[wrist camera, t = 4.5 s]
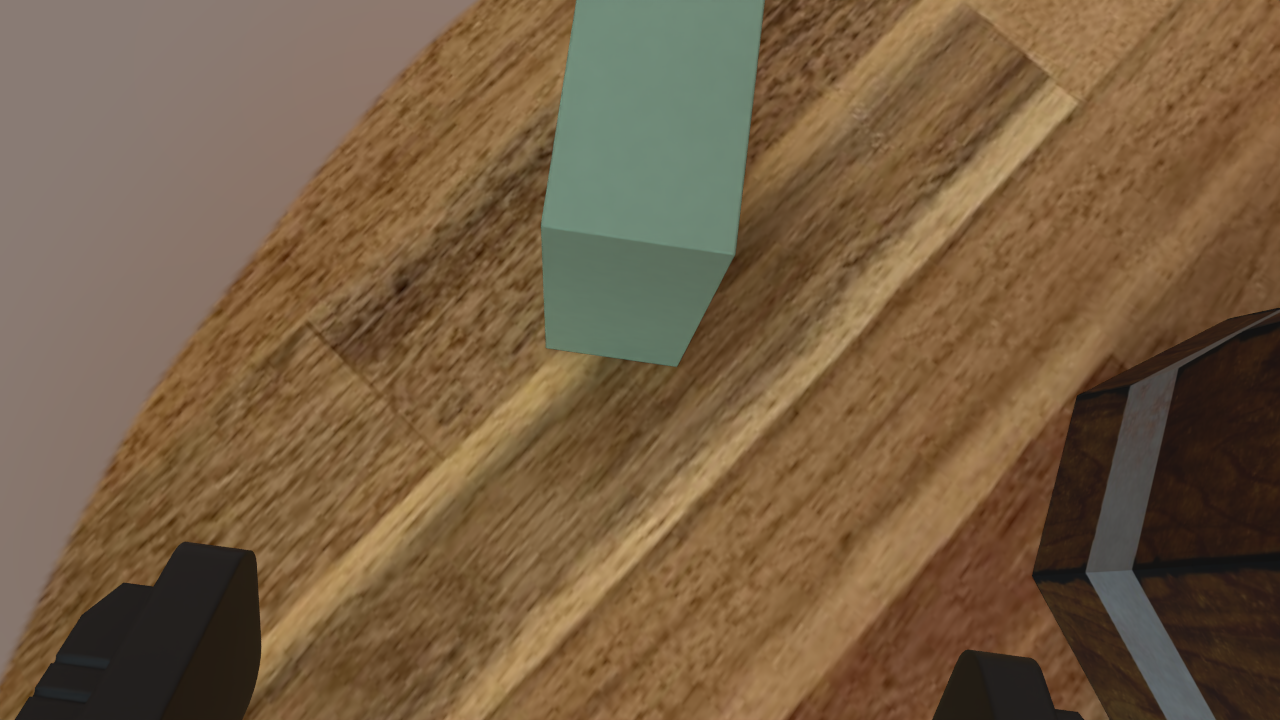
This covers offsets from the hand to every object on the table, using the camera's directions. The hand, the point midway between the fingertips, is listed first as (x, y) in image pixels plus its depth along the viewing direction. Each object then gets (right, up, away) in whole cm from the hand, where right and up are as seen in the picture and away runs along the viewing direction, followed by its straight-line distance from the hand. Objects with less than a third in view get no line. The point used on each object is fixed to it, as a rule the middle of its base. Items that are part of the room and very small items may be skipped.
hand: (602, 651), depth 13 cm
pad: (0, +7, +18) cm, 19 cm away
